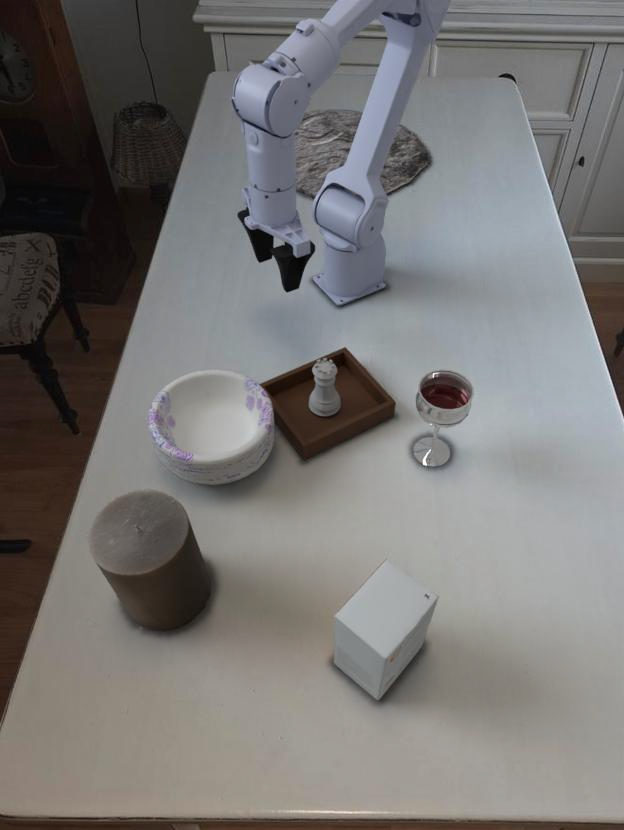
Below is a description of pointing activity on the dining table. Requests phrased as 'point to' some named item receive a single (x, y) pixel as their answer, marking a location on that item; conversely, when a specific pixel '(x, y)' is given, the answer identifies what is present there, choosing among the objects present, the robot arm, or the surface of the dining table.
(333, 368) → the rook chess piece
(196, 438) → the paper bowls
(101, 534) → the pillar candle
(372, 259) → the robot arm
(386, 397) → the tray
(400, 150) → the worn metal disc
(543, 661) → the dining table surface
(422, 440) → the wineglass
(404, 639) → the small box
